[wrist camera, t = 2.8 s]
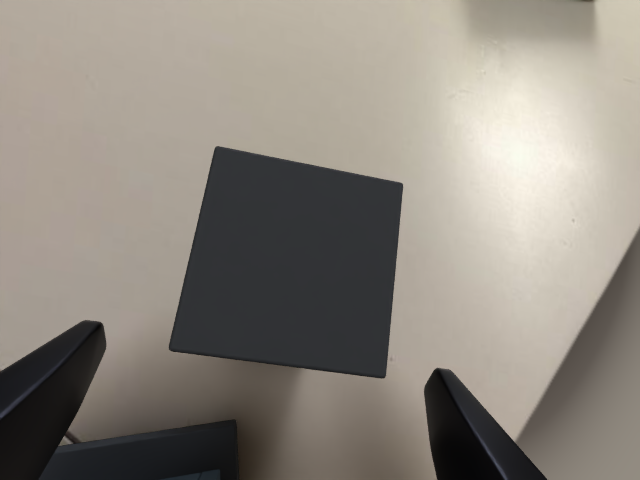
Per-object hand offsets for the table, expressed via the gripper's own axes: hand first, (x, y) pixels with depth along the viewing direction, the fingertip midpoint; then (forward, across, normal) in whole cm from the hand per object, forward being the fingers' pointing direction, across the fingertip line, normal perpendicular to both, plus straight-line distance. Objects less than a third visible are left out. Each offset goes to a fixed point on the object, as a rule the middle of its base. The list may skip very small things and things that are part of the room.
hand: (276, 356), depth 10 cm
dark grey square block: (+8, 0, +5) cm, 10 cm away
